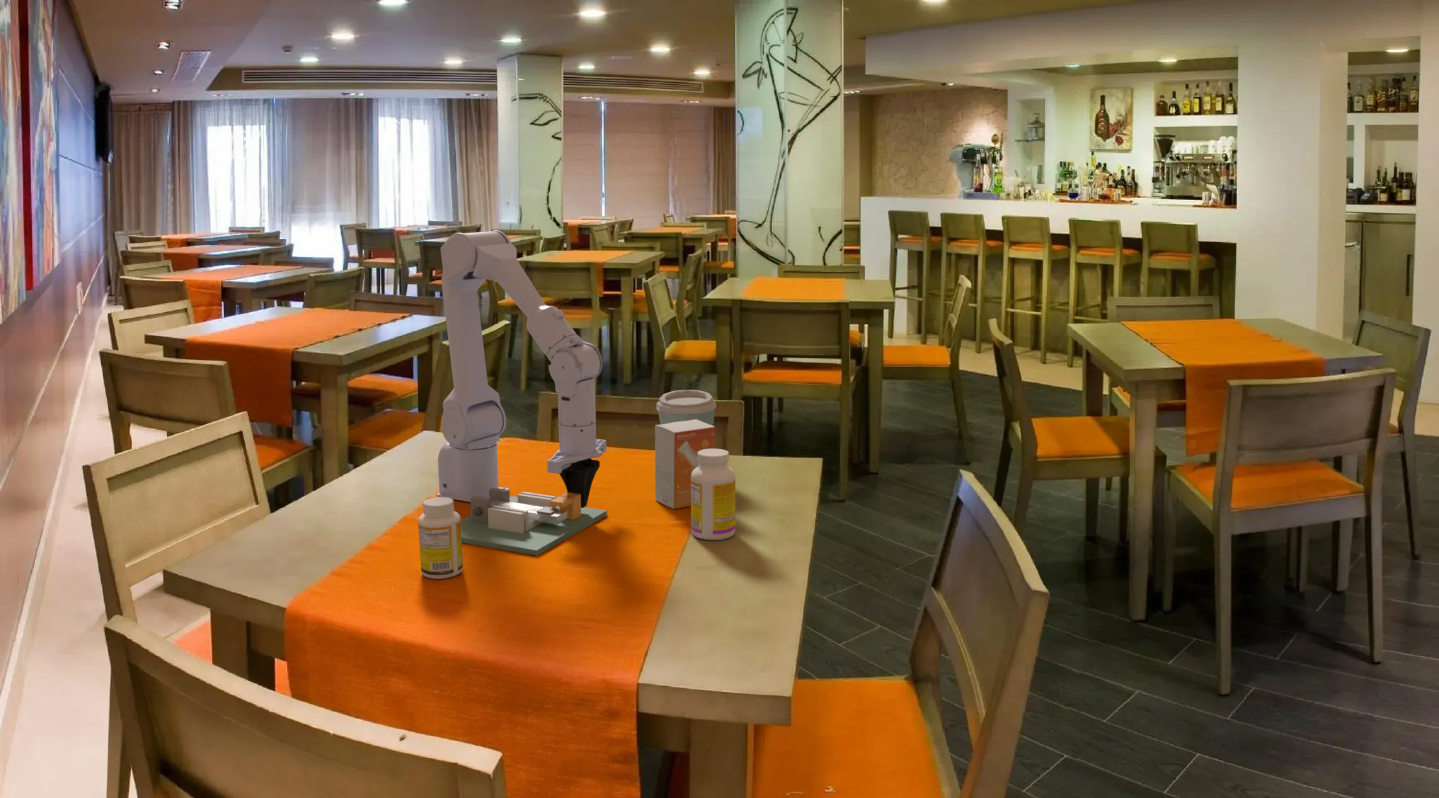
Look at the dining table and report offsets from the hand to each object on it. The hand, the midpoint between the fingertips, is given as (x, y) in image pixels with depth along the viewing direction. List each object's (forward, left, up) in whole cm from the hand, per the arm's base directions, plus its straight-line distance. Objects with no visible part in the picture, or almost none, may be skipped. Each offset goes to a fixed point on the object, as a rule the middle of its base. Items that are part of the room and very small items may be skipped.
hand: (579, 506), depth 170 cm
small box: (+11, +15, -2) cm, 19 cm away
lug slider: (0, -4, -1) cm, 4 cm away
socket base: (-6, -7, -2) cm, 9 cm away
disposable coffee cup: (+5, +28, -2) cm, 28 cm away
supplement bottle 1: (-5, -28, -2) cm, 29 cm away
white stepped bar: (-5, -7, 0) cm, 9 cm away
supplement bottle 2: (+22, +2, -2) cm, 23 cm away
